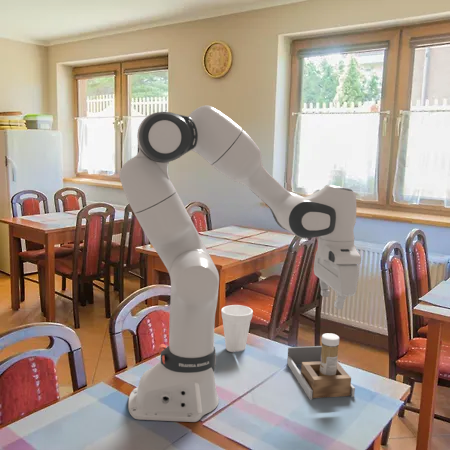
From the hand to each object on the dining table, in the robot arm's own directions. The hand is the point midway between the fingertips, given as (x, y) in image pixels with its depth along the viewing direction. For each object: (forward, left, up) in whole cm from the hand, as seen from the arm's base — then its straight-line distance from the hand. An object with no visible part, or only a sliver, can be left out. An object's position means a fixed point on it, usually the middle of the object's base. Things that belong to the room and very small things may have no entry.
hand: (331, 302), depth 124 cm
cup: (-19, +28, -25) cm, 42 cm away
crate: (0, +1, -24) cm, 24 cm away
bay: (0, +5, -25) cm, 26 cm away
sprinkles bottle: (+1, +1, -23) cm, 23 cm away
